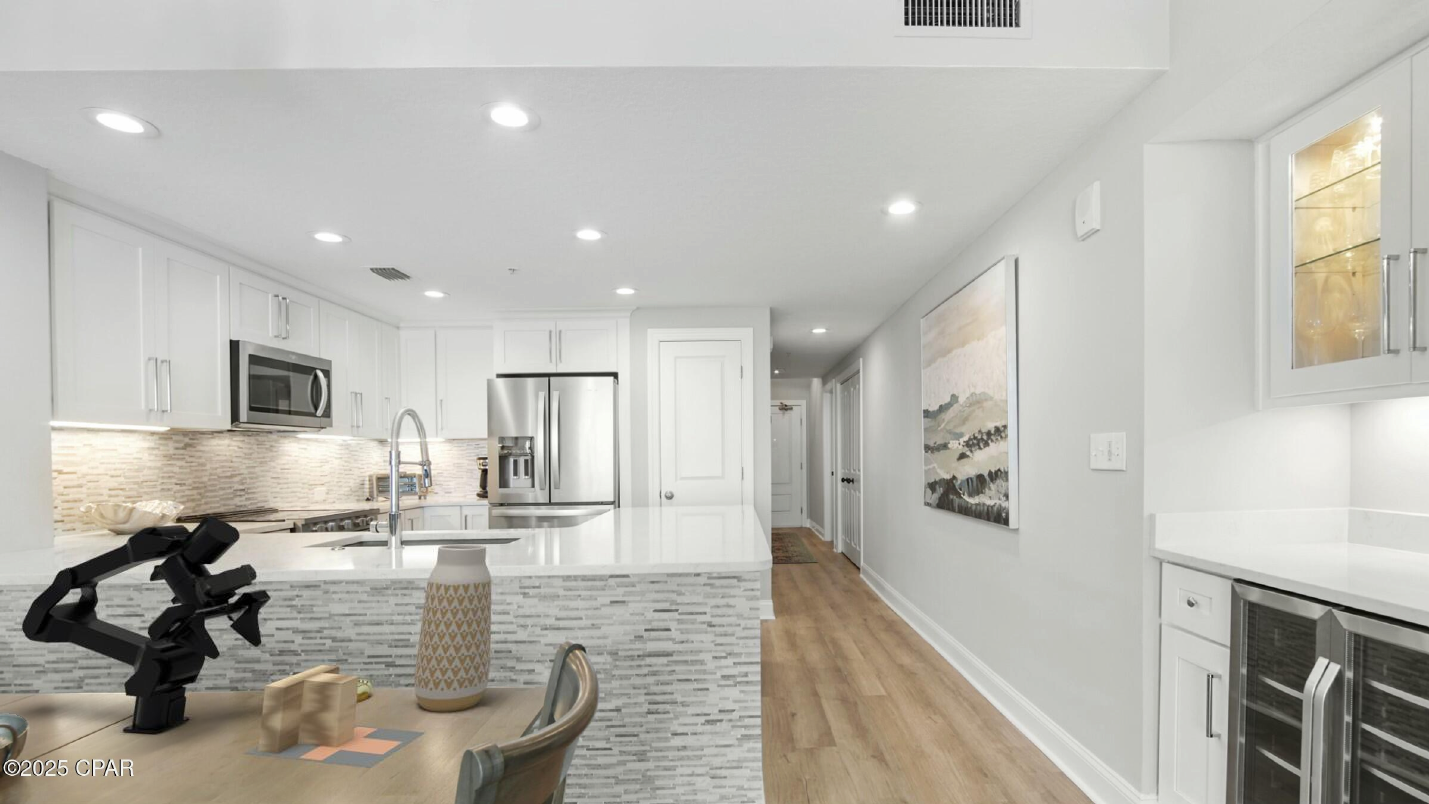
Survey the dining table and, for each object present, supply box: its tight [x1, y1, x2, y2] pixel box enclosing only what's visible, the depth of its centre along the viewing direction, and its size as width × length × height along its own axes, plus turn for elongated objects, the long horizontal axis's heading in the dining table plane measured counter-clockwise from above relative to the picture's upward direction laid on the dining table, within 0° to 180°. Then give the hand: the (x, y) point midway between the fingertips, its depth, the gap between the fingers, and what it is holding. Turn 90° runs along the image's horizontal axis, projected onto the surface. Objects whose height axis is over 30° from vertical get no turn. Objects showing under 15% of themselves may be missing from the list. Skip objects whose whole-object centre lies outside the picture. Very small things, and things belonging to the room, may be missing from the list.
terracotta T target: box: [299, 727, 402, 760], centre depth 105 cm, size 12×13×1 cm
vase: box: [414, 543, 492, 713], centre depth 128 cm, size 14×14×31 cm
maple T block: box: [258, 664, 360, 754], centre depth 107 cm, size 10×12×10 cm
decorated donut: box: [357, 676, 373, 703], centre depth 127 cm, size 10×11×4 cm
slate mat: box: [244, 724, 426, 769], centre depth 106 cm, size 22×14×1 cm, turn 81°
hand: (238, 651), depth 111 cm, fingers open, 8 cm apart
